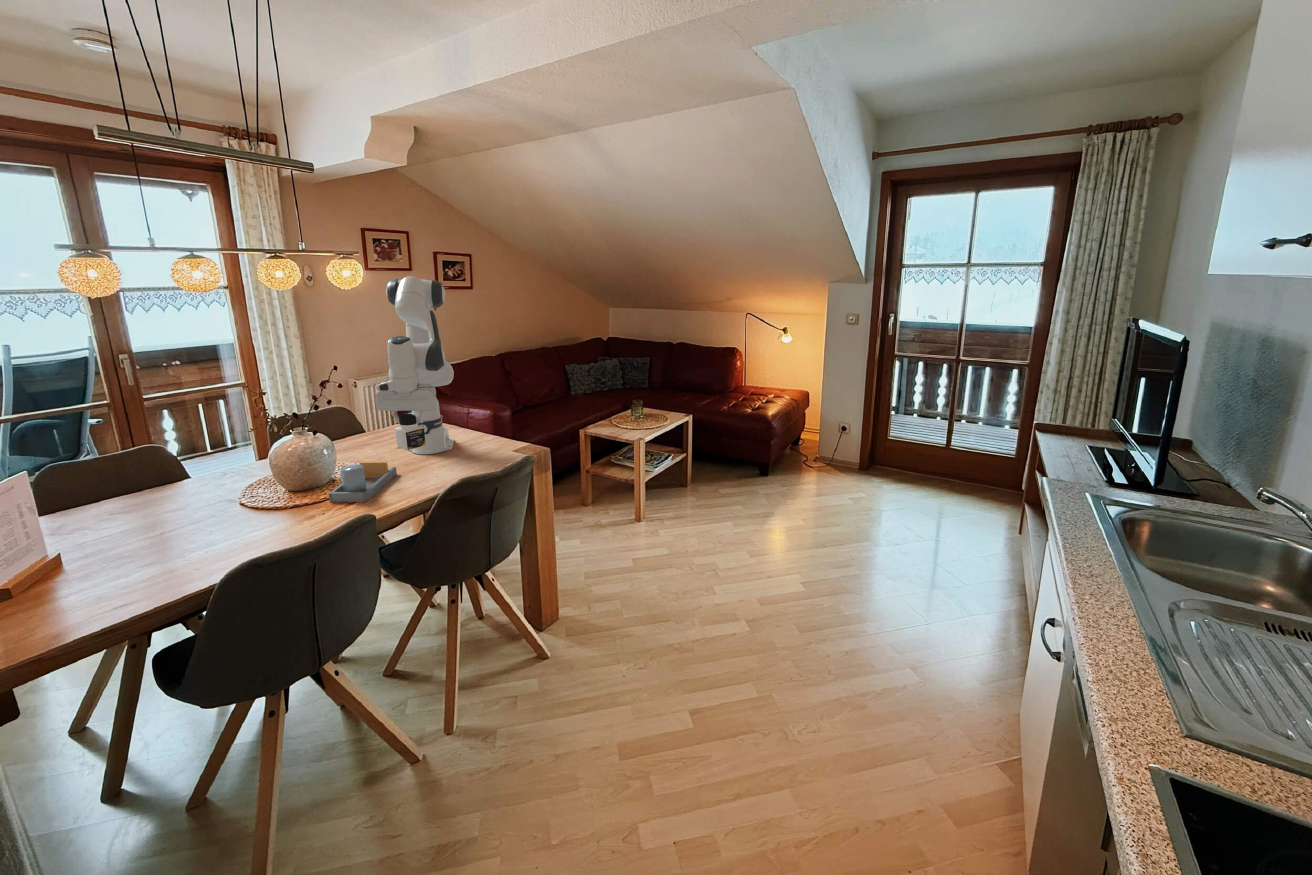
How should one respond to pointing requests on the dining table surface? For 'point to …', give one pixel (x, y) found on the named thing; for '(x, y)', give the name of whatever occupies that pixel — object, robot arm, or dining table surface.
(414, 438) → the medicine bottle
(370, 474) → the block
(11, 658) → the dining table surface
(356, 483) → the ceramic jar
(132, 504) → the dining table surface
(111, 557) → the dining table surface
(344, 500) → the blue-grey tray
